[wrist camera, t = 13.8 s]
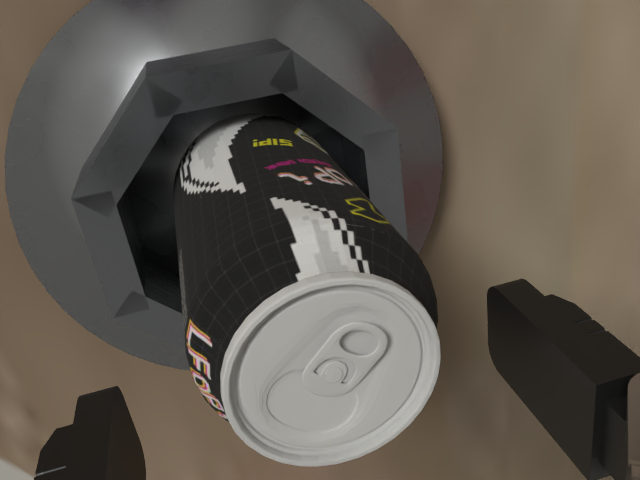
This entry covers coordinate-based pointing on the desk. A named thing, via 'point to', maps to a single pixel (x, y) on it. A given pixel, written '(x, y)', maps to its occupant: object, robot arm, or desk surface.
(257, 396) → the beverage can
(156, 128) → the rosette socket
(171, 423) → the desk surface
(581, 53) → the desk surface
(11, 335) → the desk surface
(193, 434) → the desk surface
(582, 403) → the robot arm
